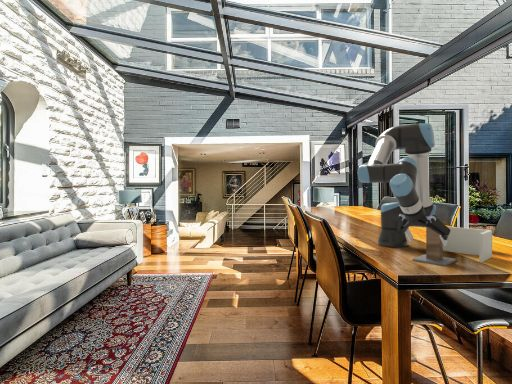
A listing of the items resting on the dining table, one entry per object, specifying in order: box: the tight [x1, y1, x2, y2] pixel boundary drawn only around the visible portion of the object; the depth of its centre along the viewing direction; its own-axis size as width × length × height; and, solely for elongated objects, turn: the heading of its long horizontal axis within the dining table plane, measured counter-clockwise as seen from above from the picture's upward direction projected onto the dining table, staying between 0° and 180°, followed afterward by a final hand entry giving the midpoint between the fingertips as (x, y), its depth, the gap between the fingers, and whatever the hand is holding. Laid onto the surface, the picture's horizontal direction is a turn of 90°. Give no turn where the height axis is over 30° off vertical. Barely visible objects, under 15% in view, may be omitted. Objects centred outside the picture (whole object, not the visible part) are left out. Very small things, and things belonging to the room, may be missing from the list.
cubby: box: [443, 226, 493, 263], centre depth 148 cm, size 14×22×12 cm, turn 40°
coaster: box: [411, 253, 457, 267], centre depth 140 cm, size 13×13×1 cm
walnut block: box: [425, 227, 444, 261], centre depth 140 cm, size 5×5×14 cm
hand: (427, 241), depth 135 cm, fingers open, 13 cm apart
